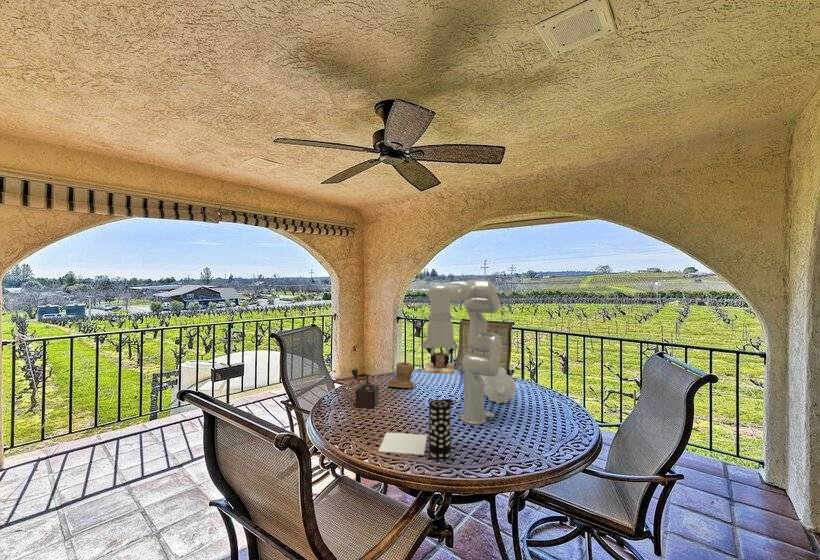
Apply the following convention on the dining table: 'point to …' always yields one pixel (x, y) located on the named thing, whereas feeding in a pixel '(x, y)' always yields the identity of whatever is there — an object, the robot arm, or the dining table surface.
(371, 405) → the pepper mill
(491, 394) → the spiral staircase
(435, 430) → the spotted tube
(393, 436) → the white flat block
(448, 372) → the wooden lid
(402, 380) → the tan stepped piece
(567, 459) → the dining table surface
